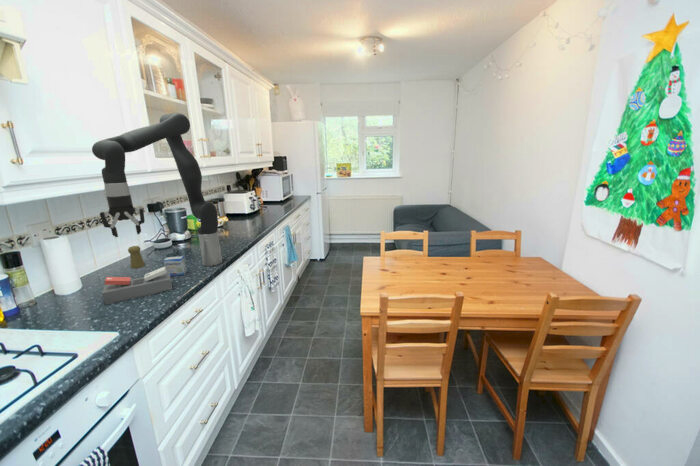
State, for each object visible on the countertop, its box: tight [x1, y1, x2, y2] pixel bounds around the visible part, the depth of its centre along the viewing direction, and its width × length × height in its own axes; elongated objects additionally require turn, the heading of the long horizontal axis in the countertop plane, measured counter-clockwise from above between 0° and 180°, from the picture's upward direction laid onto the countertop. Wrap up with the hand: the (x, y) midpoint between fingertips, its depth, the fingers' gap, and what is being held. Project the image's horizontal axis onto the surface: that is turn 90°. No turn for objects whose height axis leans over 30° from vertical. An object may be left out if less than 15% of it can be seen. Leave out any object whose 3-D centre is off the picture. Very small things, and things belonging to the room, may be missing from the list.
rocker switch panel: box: [101, 272, 173, 305], centre depth 124 cm, size 23×9×6 cm, turn 122°
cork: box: [127, 245, 145, 269], centre depth 152 cm, size 6×6×11 cm
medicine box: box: [163, 255, 187, 277], centre depth 142 cm, size 8×4×9 cm, turn 105°
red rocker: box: [104, 276, 132, 286], centre depth 120 cm, size 8×4×2 cm, turn 123°
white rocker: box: [143, 266, 166, 281], centre depth 126 cm, size 8×4×2 cm, turn 121°
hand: (127, 235), depth 118 cm, fingers open, 6 cm apart
